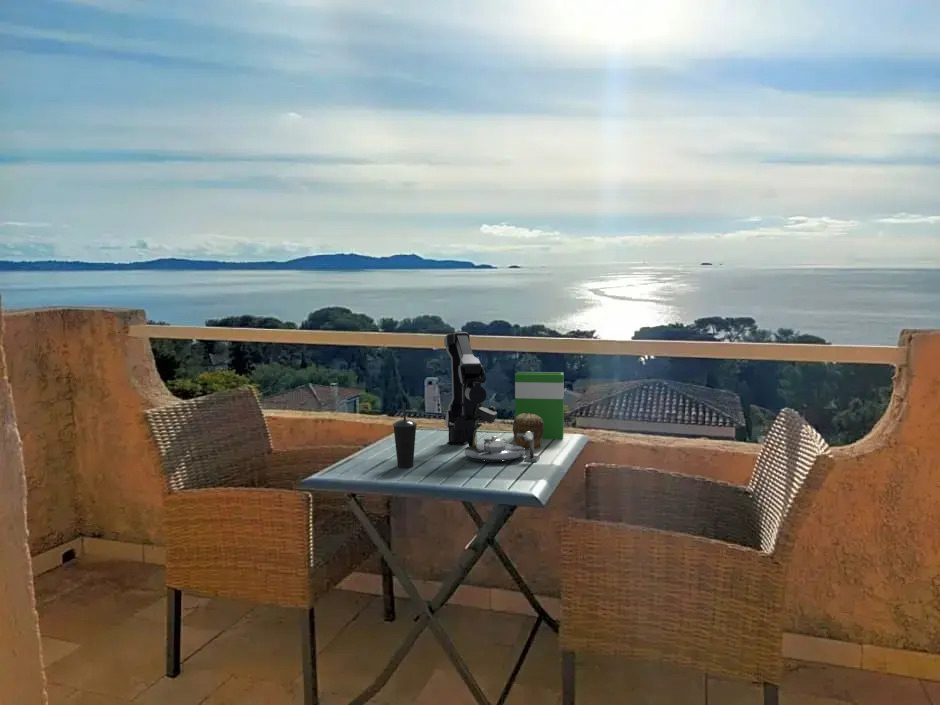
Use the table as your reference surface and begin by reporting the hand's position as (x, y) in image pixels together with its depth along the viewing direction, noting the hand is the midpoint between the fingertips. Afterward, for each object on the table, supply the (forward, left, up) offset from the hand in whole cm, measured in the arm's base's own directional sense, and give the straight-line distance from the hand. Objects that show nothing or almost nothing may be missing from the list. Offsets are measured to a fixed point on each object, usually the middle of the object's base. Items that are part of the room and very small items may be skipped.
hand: (471, 446), depth 245 cm
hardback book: (+15, +39, -4) cm, 42 cm away
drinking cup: (-16, -18, -4) cm, 25 cm away
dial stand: (+19, +1, -4) cm, 19 cm away
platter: (+8, +1, -2) cm, 8 cm away
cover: (+8, +1, -1) cm, 8 cm away
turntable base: (+8, +1, -4) cm, 9 cm away
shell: (+15, +20, -4) cm, 25 cm away
